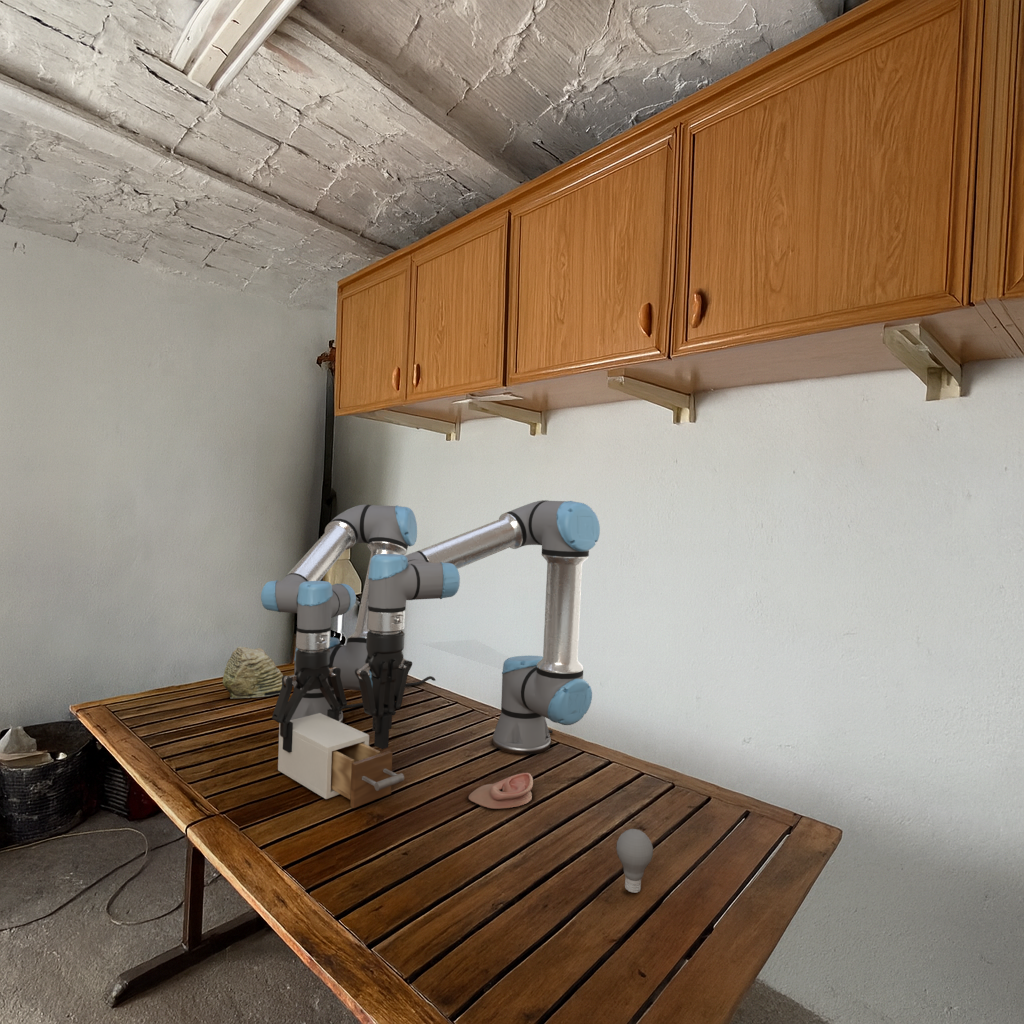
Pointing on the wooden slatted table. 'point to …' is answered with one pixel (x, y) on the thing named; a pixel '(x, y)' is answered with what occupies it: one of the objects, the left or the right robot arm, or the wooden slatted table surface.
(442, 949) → the wooden slatted table surface
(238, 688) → the fossil
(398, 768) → the wooden slatted table surface
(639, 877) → the light bulb
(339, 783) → the drawer
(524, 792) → the anatomical model
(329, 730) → the cabinet
